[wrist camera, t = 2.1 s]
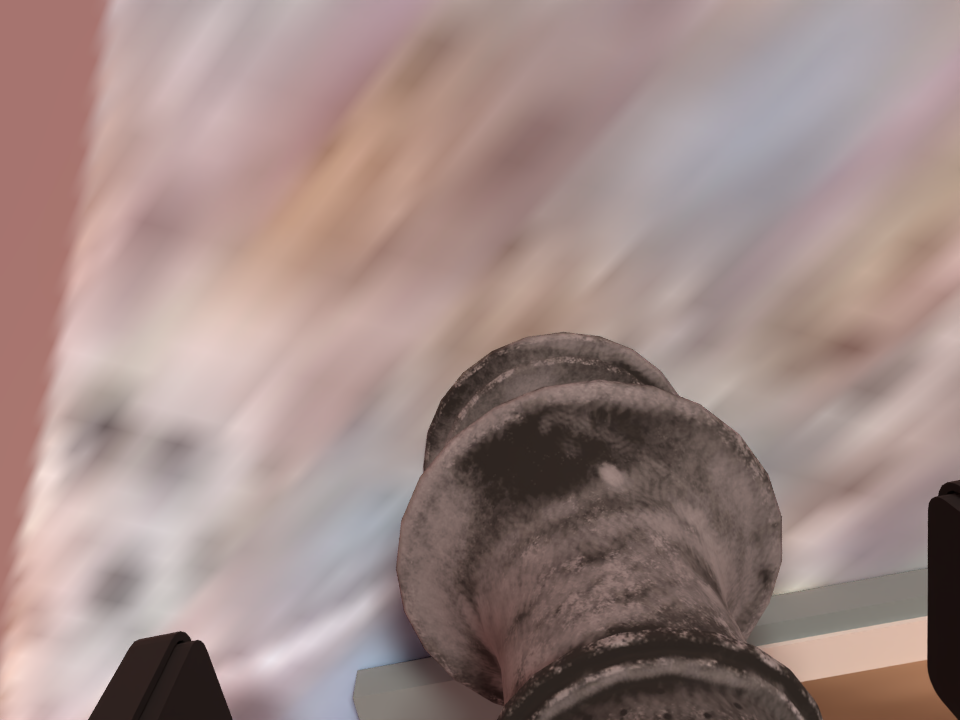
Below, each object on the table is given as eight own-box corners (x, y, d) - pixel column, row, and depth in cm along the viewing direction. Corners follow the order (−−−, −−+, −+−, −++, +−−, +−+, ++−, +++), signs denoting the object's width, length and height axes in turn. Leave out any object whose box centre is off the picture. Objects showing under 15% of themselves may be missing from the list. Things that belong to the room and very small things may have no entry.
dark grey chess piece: (602, 630, 16) (977, 1911, 5) (355, 514, 15) (46, 1814, 4) (766, 407, 14) (1926, 1488, 3) (506, 259, 13) (818, 1081, 2)
